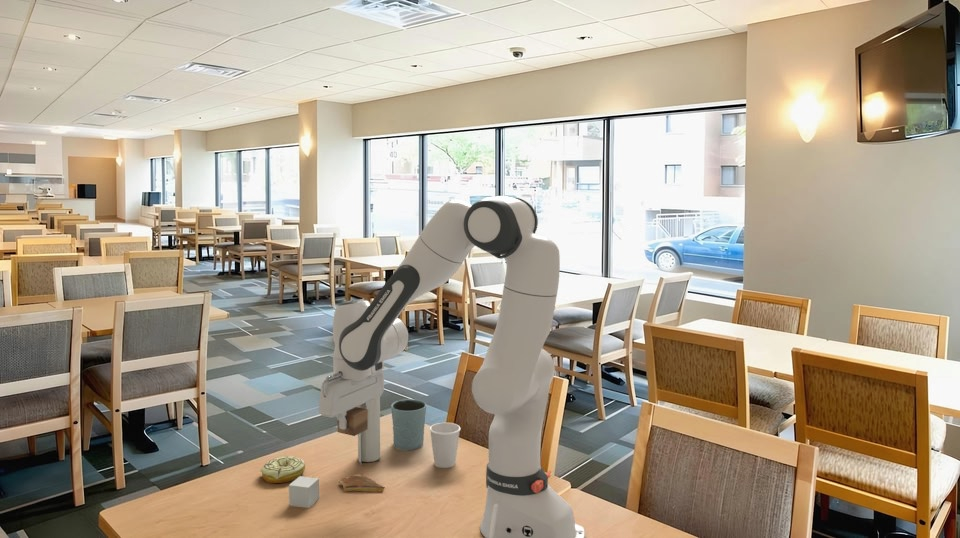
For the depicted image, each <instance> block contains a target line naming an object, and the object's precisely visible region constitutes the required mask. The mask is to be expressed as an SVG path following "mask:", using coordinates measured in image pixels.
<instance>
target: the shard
mask: <svg viewBox="0 0 960 538" xmlns="http://www.w3.org/2000/svg"><path fill="white" fill-rule="evenodd" d="M338 483H339V484H340V485H342V486H343V489H342V490H343V492H352V491H353V492H354V491H356V492H384V491H385V488H386V487H385V486H383V485H381V484H379V483H378V482H376V481H375V480H373V479H371V478H369V476H365V475H363V474H352V475H350V476H347V477H346V476H345V477H344V478H340V479H338Z"/></svg>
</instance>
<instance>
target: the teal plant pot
mask: <svg viewBox="0 0 960 538" xmlns="http://www.w3.org/2000/svg"><path fill="white" fill-rule="evenodd" d="M390 408H391V418H392V431H393V432H392V434H393V437H392V438H393V439H392V440H393V442H392V443H393V447H395V449H398V450H401V451H413V450H418V449H421V448H422V447H423V445H424V438H425V437H424V435H425V425H426V413H427V402H425V401H423V400H419V399H415V398H414V399H412V398H411V399H410V398H409V399H400V400H396V401H394V402H392V403H391V405H390Z"/></svg>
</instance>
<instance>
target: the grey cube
mask: <svg viewBox="0 0 960 538" xmlns="http://www.w3.org/2000/svg"><path fill="white" fill-rule="evenodd" d="M319 499H320V478H319V477H310V476H302V475H301V476H299V477H298V478H297V479H294V480H292V482H291V483H290V484H288V505H289V506H291V507H296V508H297V507H298V508H306V509H310V508H311V506H313V505H314V504H315V503H316V502H317V501H318V500H319Z"/></svg>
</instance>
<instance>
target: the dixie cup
mask: <svg viewBox="0 0 960 538" xmlns="http://www.w3.org/2000/svg"><path fill="white" fill-rule="evenodd" d="M429 431H430V438H431V446H432V454H433V463H434V466H435V467H437V468H442V469H449V468H452V467H454V466H455V465H456V463H457V455H458V453H457V452H458V447H459V439H460V431H461V427H460V425H458V424H456V423H454V422H438V423H434V424H432V425H431V426H430V427H429Z"/></svg>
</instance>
